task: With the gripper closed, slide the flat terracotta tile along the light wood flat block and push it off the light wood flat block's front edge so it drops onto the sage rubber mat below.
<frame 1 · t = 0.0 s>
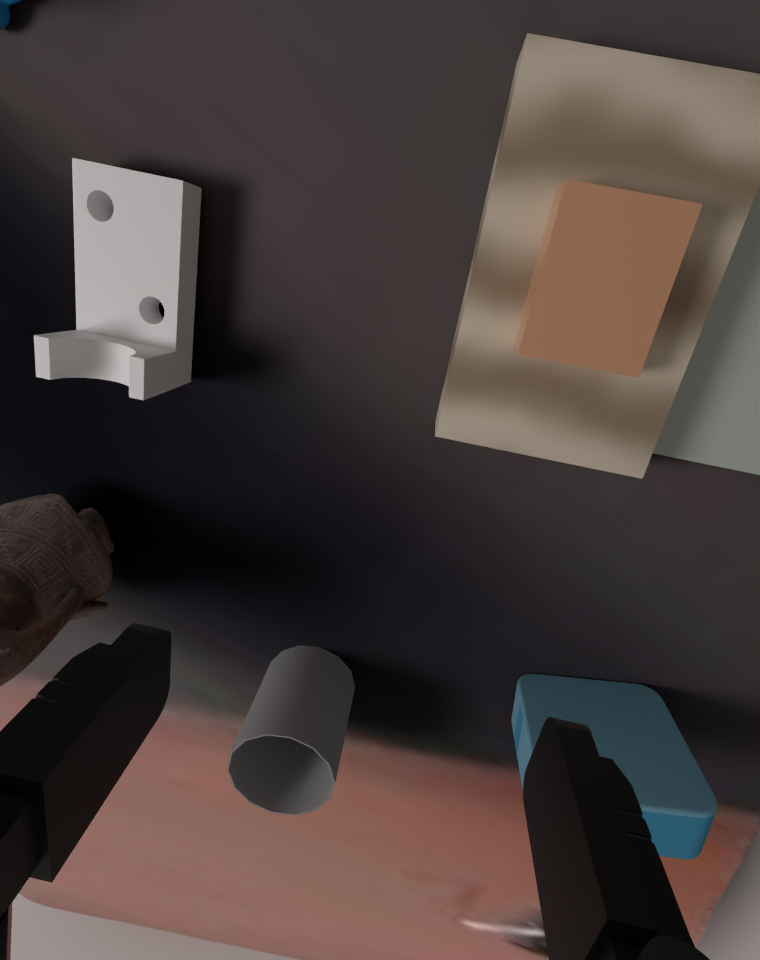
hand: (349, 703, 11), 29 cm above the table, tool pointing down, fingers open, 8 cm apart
tile: (598, 283, 29), point 5 cm above the table, touching light wood flat block
data package: (579, 695, 46), on the table
light wood flat block: (575, 283, 34), on the table
bracket: (155, 281, 37), on the table
clay figurine: (84, 530, 45), on the table
cup: (311, 680, 49), on the table
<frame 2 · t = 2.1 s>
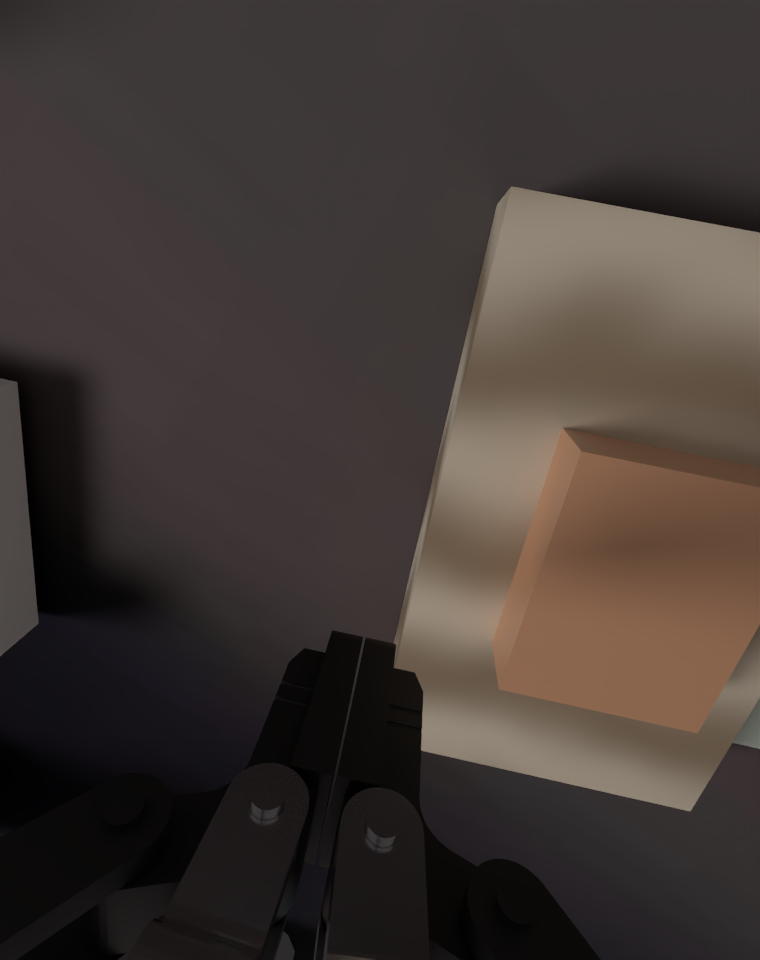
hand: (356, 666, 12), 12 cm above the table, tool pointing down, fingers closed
tile: (631, 584, 17), point 5 cm above the table, touching light wood flat block
light wood flat block: (590, 517, 22), on the table
cup: (238, 939, 37), on the table
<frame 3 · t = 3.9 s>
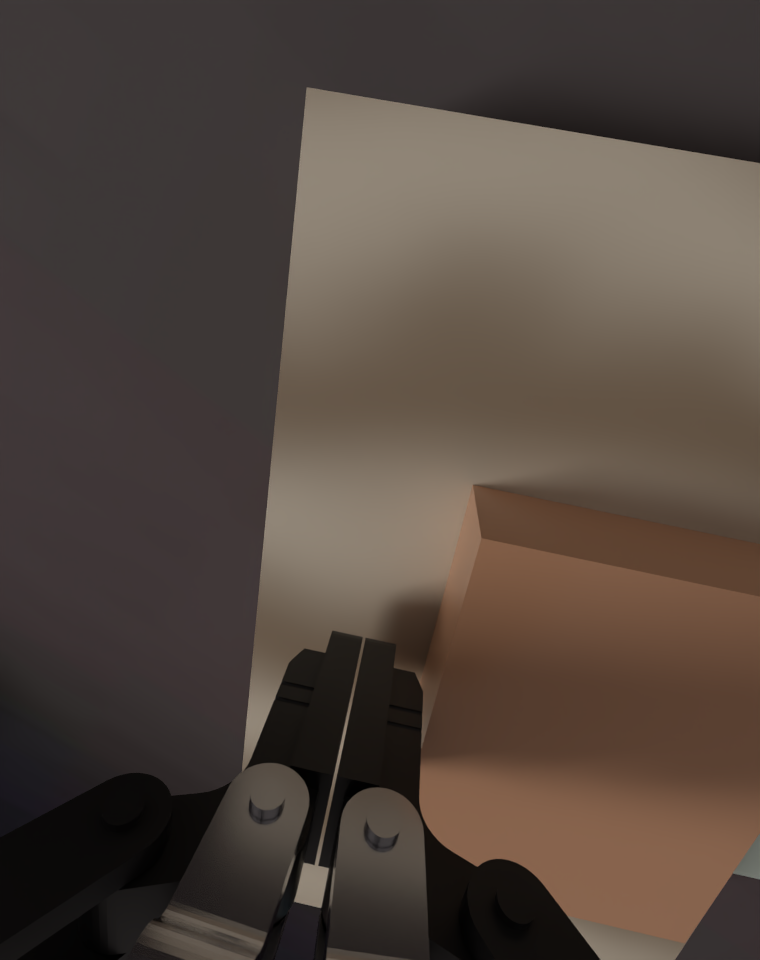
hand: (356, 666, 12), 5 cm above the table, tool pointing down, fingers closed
tile: (582, 721, 11), point 5 cm above the table
light wood flat block: (512, 583, 16), on the table
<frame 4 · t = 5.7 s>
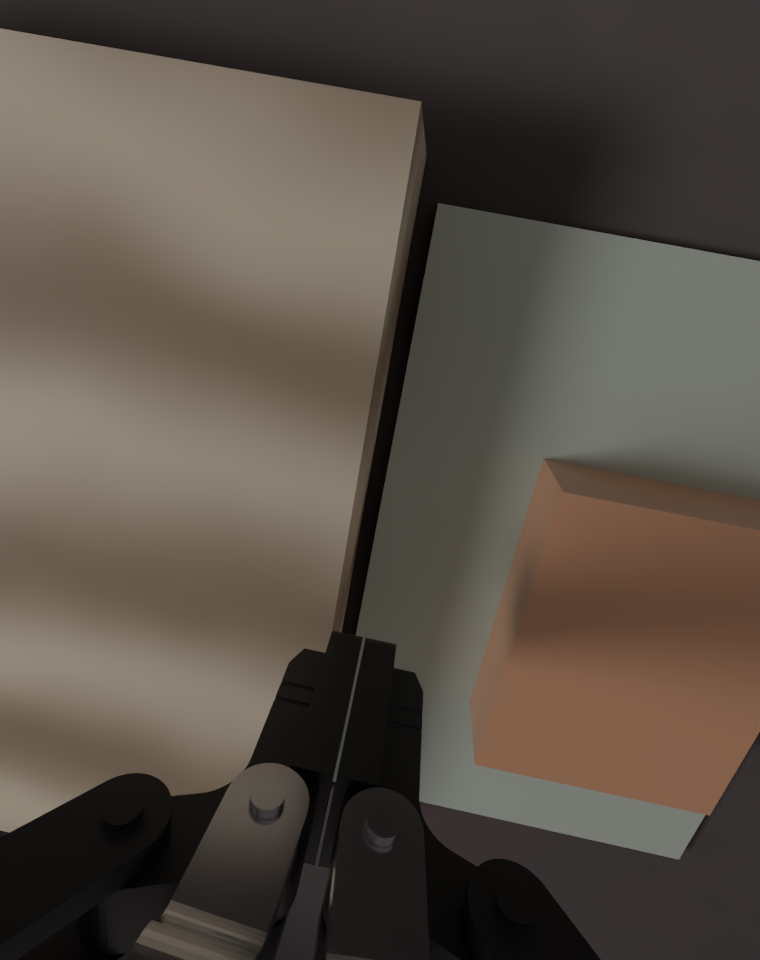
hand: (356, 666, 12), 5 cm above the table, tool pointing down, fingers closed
tile: (628, 641, 15), point 2 cm above the table, tilted 180°, touching mat
light wood flat block: (146, 505, 17), on the table
mat: (581, 595, 16), on the table
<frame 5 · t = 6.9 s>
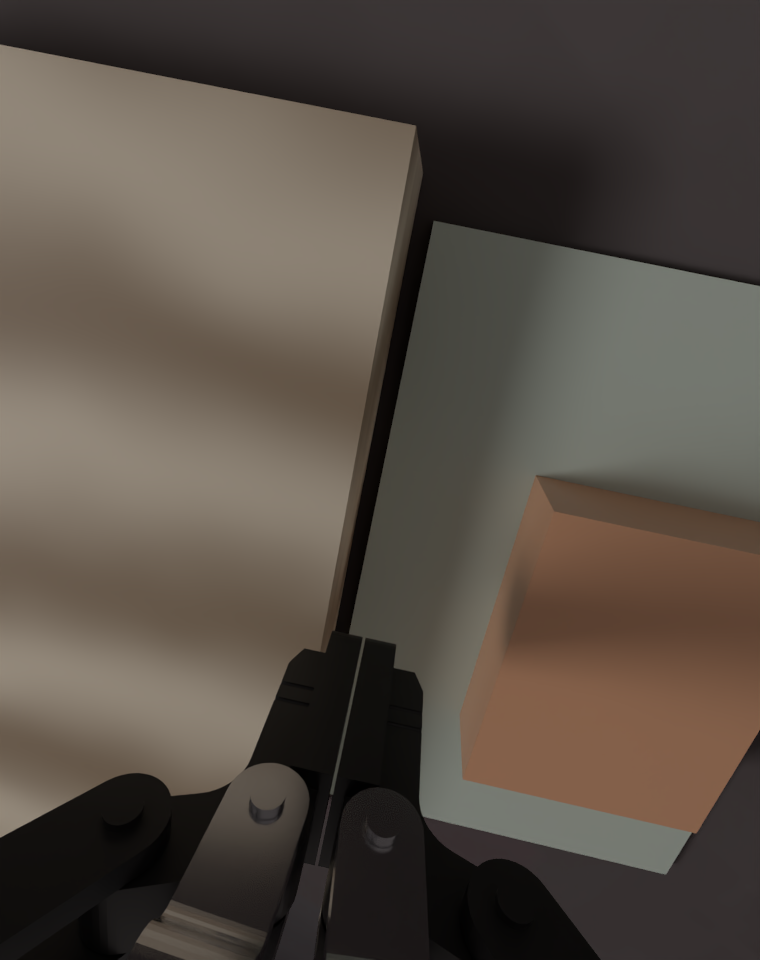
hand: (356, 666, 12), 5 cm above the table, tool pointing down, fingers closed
tile: (617, 658, 15), point 2 cm above the table, tilted 180°, touching mat
light wood flat block: (138, 513, 17), on the table
mat: (571, 610, 16), on the table
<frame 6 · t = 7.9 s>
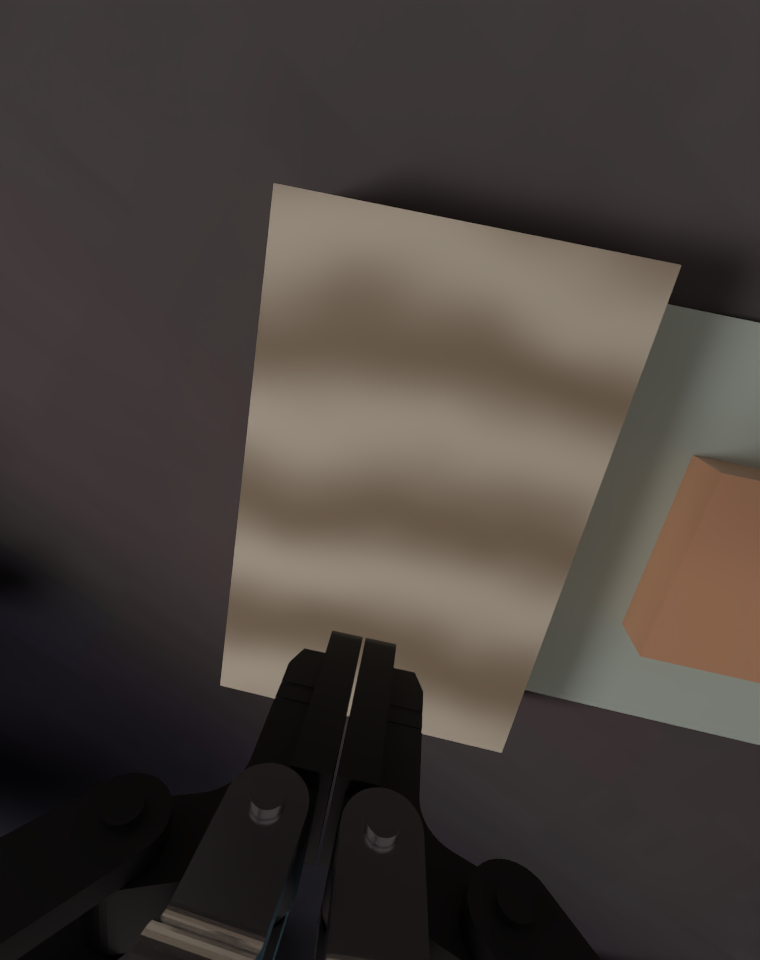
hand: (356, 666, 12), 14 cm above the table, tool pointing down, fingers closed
tile: (744, 574, 23), point 2 cm above the table, tilted 180°, touching mat
light wood flat block: (411, 482, 25), on the table
mat: (705, 548, 24), on the table
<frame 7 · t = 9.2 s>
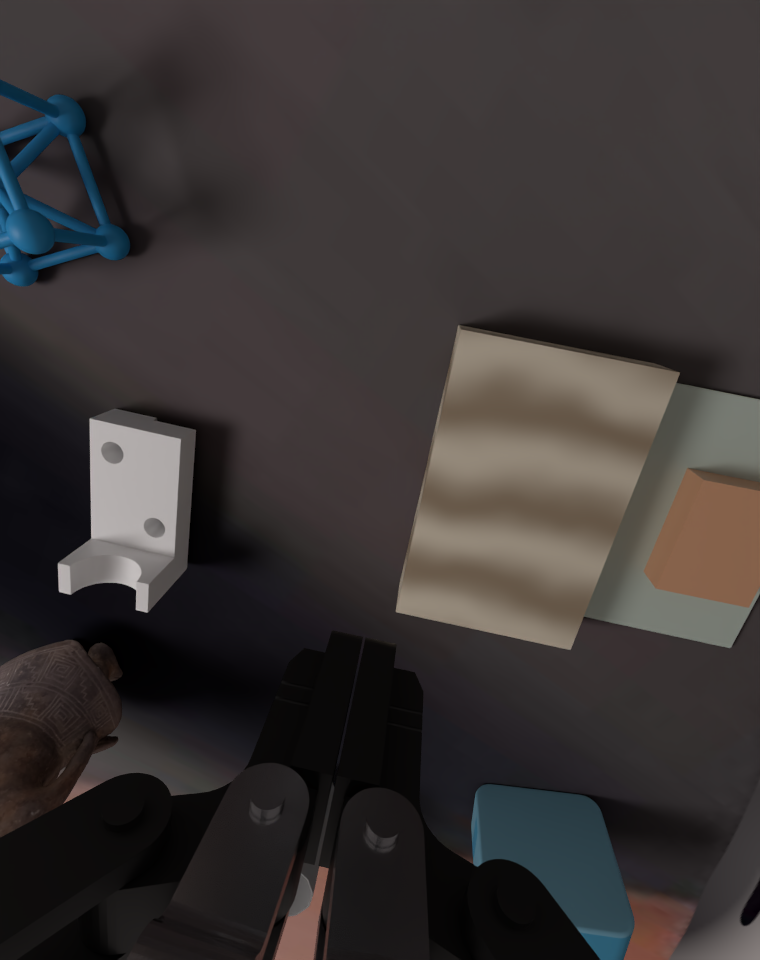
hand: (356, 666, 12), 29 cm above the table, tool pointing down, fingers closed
tile: (718, 538, 38), point 2 cm above the table, tilted 180°, touching mat
data package: (531, 802, 52), on the table
light wood flat block: (513, 485, 40), on the table
bracket: (157, 488, 44), on the table
mat: (695, 523, 40), on the table
clay figurine: (96, 658, 52), on the table
cup: (296, 783, 55), on the table
molecular structure: (54, 200, 37), on the table
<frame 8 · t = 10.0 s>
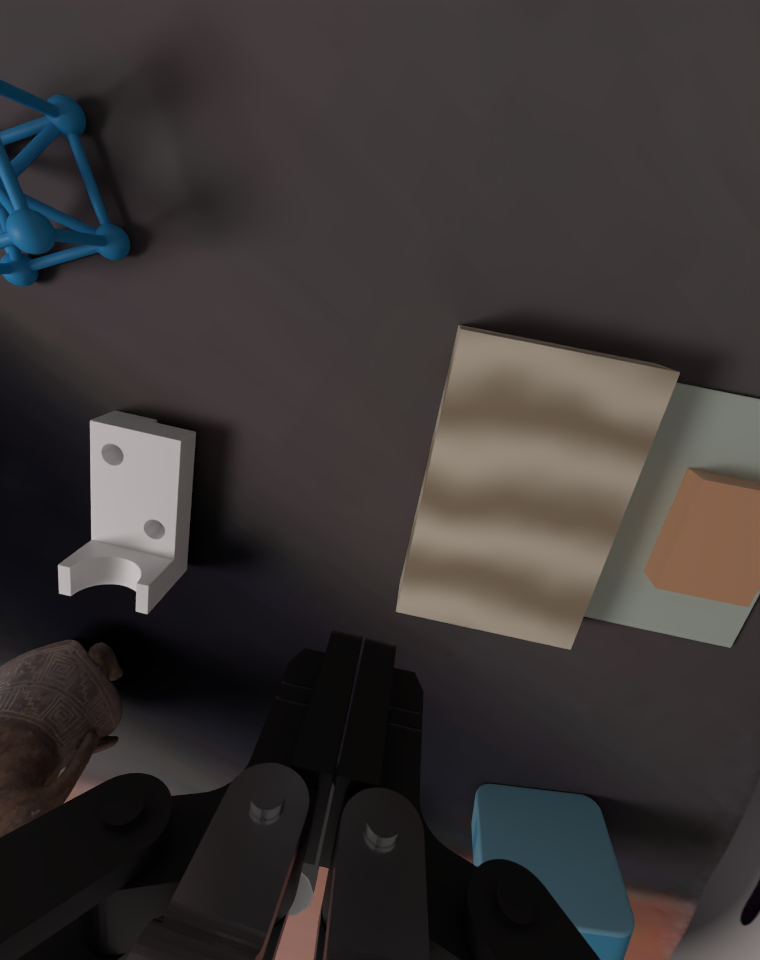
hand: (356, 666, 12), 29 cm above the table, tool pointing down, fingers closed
tile: (718, 538, 38), point 2 cm above the table, tilted 180°, touching mat
data package: (531, 801, 52), on the table
light wood flat block: (513, 485, 40), on the table
bracket: (157, 490, 44), on the table
mat: (695, 523, 40), on the table
clay figurine: (96, 657, 52), on the table
cup: (296, 783, 55), on the table
molecular structure: (55, 200, 37), on the table
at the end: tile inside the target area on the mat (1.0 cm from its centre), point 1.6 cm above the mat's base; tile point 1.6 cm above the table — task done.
